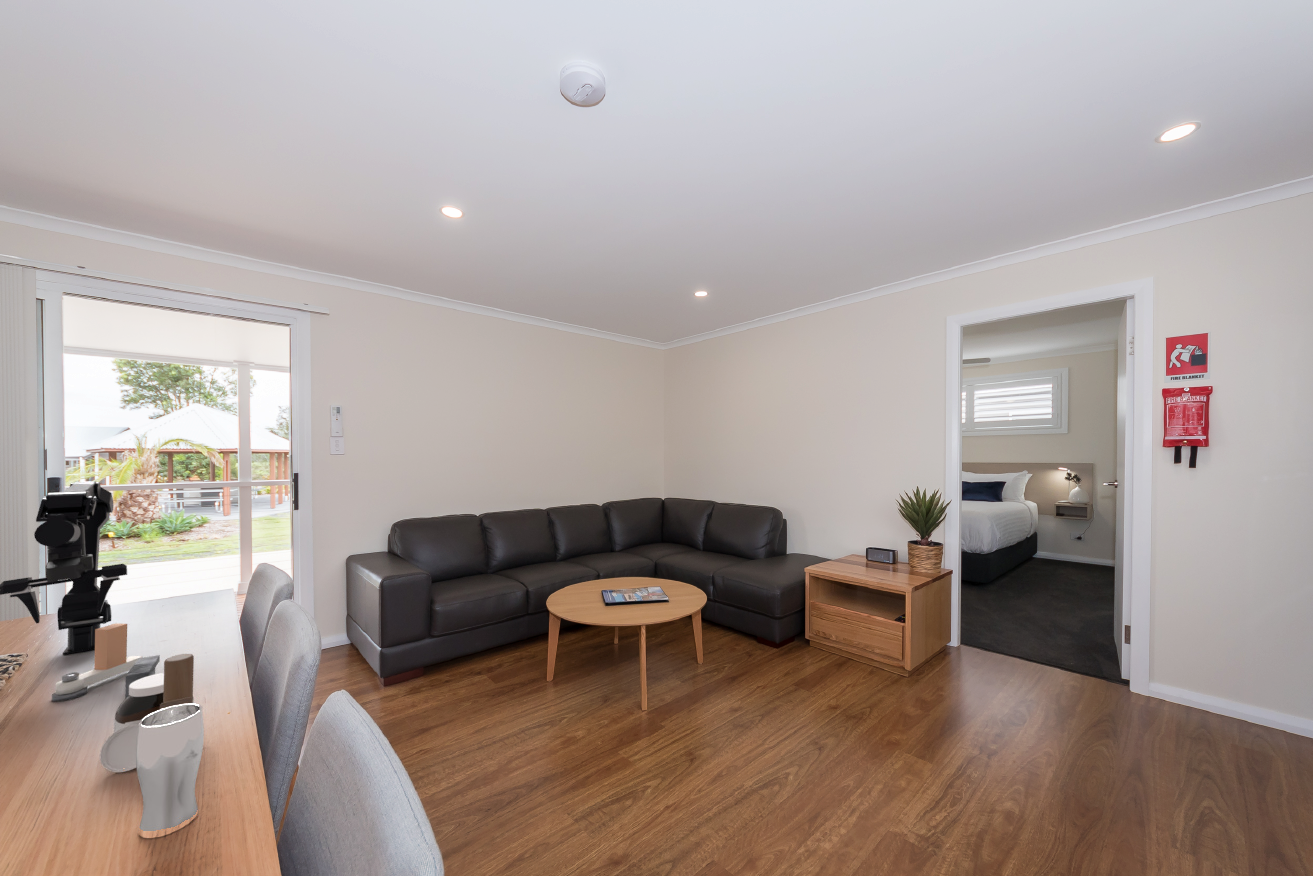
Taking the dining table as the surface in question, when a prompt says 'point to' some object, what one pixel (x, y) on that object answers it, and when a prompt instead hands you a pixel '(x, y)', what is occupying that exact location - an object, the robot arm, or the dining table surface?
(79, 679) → the link
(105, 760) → the spread jar
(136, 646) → the dining table surface
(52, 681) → the dining table surface
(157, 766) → the beer glass
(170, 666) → the wooden block
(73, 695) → the pintle plate
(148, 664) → the dark grey block
